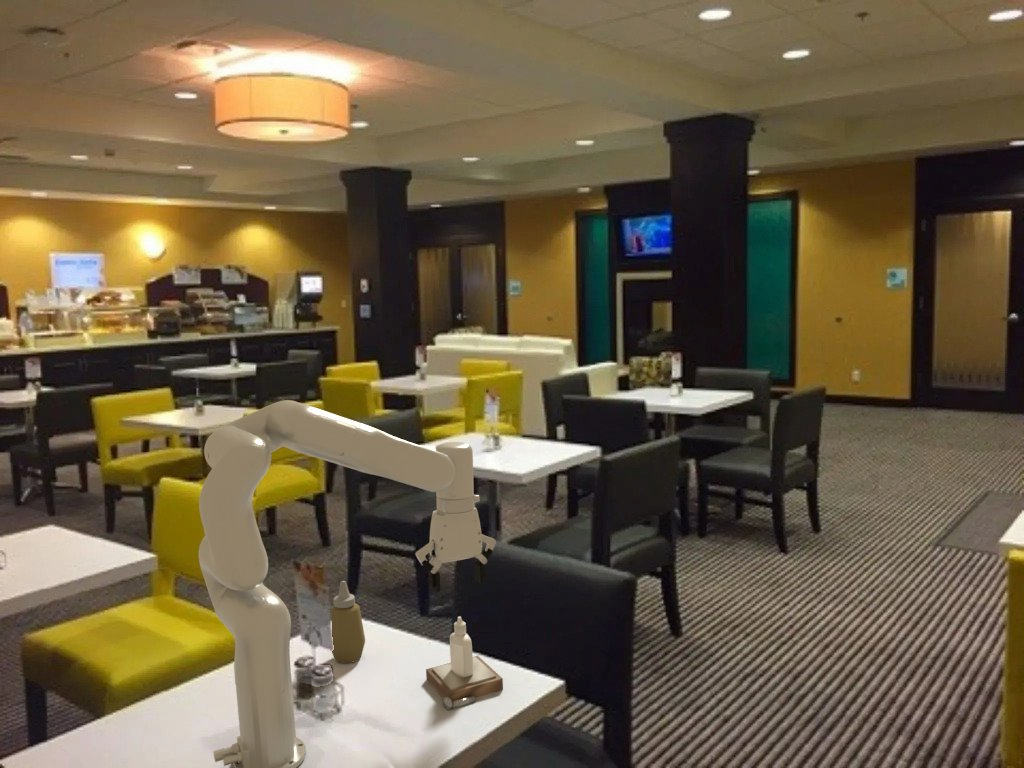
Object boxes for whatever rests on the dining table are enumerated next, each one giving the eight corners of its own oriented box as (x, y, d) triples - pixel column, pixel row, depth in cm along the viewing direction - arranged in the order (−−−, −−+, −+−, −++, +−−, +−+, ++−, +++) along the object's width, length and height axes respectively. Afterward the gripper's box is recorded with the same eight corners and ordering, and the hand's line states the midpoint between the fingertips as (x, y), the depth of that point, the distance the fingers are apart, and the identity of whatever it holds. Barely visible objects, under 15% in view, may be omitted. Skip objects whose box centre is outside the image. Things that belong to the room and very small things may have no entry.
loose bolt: (449, 706, 168) (444, 695, 170) (446, 714, 169) (441, 703, 171) (476, 698, 171) (471, 688, 173) (473, 707, 172) (468, 696, 174)
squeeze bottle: (328, 653, 197) (322, 578, 194) (363, 647, 199) (358, 573, 196) (331, 669, 189) (326, 590, 186) (368, 662, 191) (363, 585, 189)
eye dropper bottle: (452, 679, 175) (449, 623, 173) (450, 667, 181) (448, 612, 179) (473, 677, 176) (471, 621, 174) (471, 665, 181) (469, 610, 179)
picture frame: (449, 707, 171) (448, 691, 170) (426, 682, 181) (425, 667, 181) (503, 692, 176) (502, 676, 176) (478, 668, 187) (477, 653, 186)
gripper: (486, 494, 180) (487, 572, 183) (408, 505, 172) (411, 587, 175) (502, 502, 174) (503, 583, 176) (421, 514, 166) (424, 599, 168)
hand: (457, 585), depth 175 cm, fingers open, 9 cm apart
